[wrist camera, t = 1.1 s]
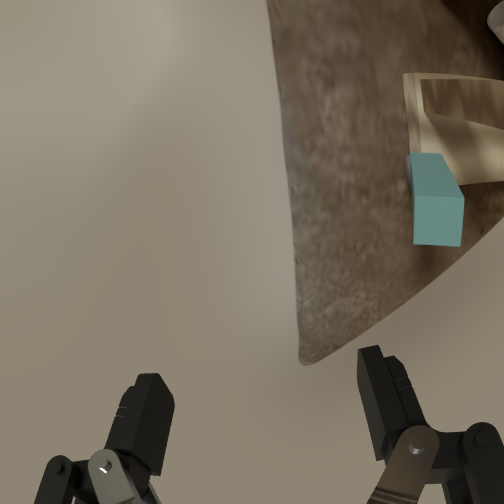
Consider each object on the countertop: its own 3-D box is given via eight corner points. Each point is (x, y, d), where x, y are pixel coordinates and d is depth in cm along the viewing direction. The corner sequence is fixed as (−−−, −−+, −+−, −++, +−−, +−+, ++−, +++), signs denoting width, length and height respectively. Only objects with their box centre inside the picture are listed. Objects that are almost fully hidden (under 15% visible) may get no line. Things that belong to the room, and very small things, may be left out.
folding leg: (405, 151, 29) (407, 195, 19) (440, 153, 27) (464, 198, 17) (406, 183, 31) (406, 243, 20) (441, 184, 29) (459, 246, 18)
